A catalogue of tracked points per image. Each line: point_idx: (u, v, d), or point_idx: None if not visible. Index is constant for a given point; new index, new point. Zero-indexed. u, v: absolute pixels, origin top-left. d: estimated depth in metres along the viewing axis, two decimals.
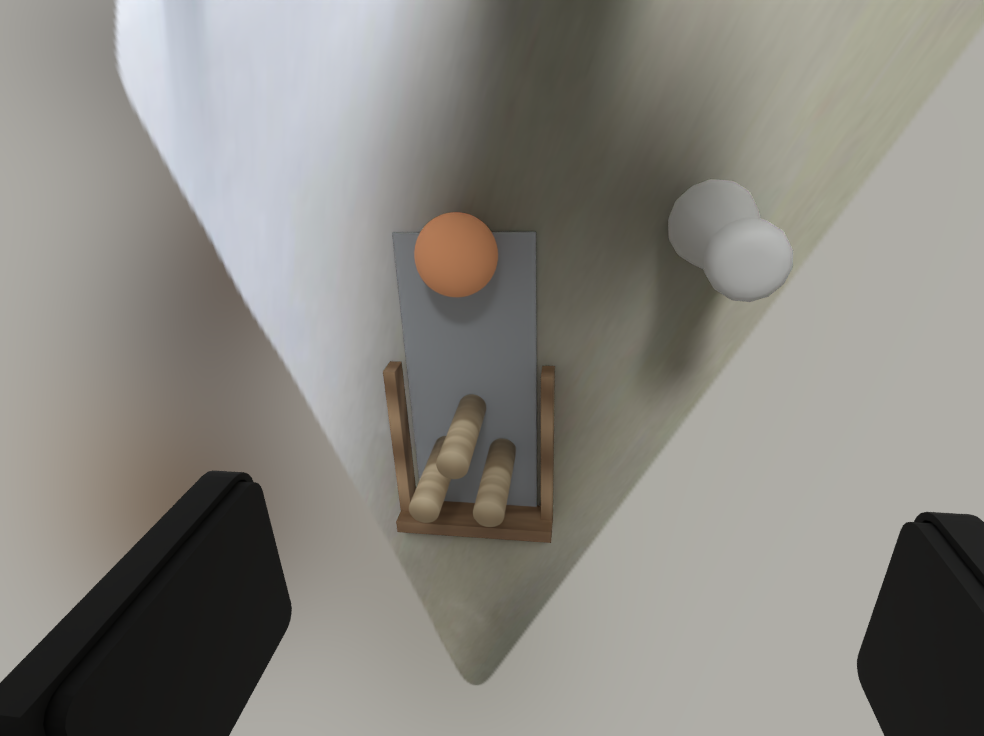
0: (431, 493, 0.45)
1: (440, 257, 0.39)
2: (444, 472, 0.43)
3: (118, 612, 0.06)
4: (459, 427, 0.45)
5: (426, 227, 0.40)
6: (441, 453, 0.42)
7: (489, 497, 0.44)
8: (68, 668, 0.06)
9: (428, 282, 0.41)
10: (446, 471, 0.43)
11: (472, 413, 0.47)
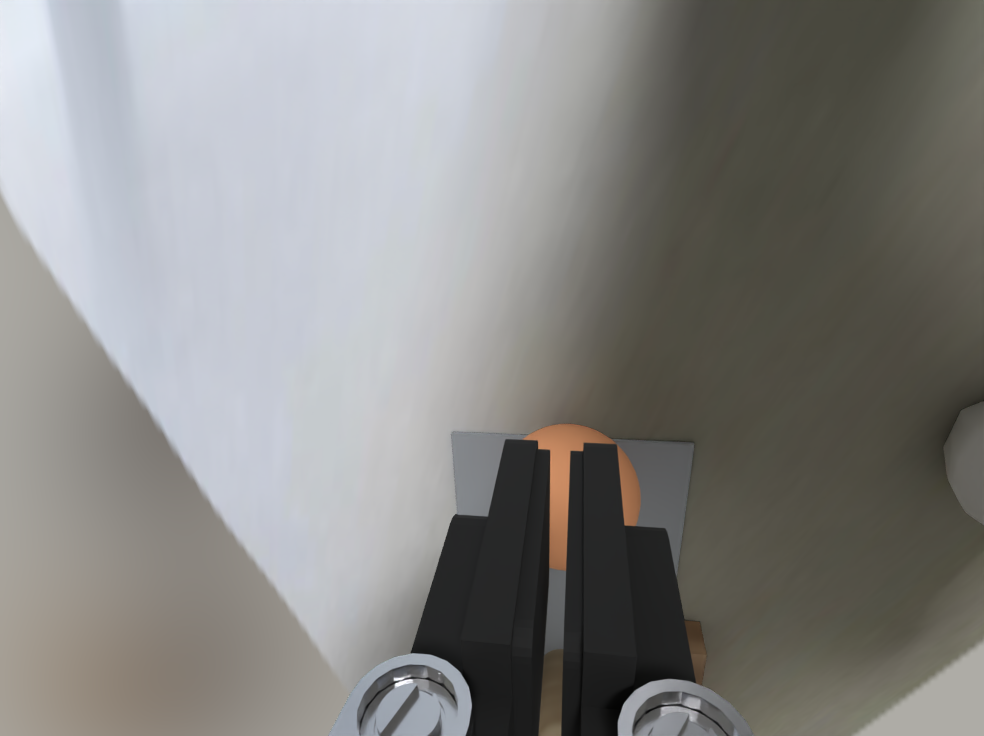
0: None
1: (552, 529, 0.22)
2: None
3: (515, 560, 0.07)
4: None
5: None
6: None
7: None
8: (514, 605, 0.06)
9: None
10: None
11: None
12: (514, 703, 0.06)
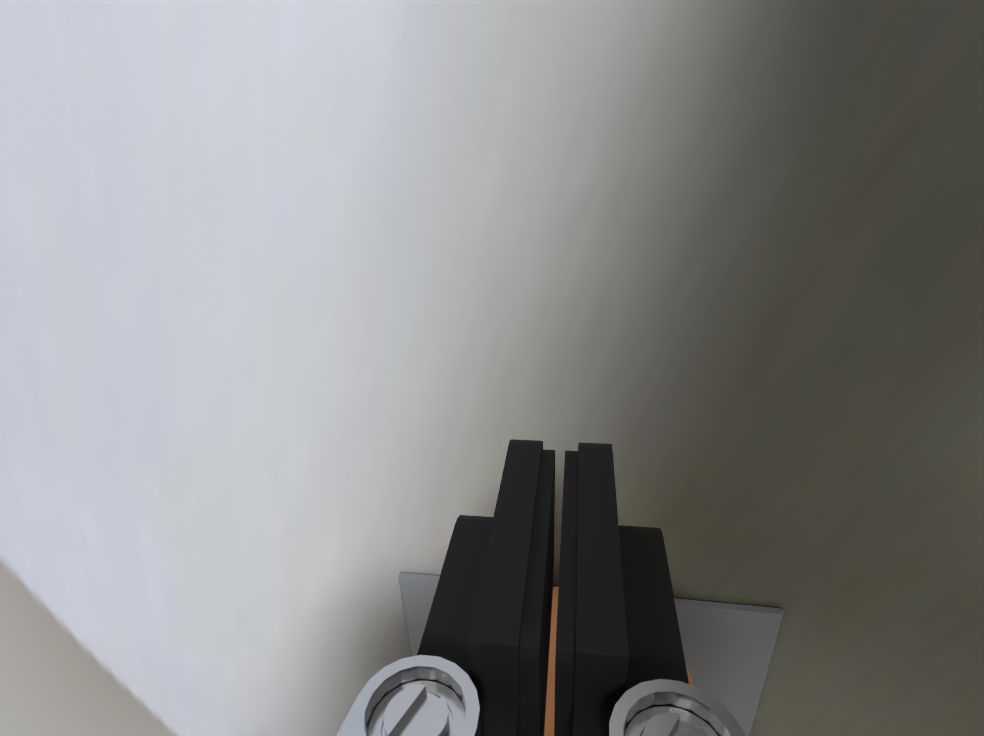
0: None
1: None
2: None
3: (521, 560, 0.07)
4: None
5: None
6: None
7: None
8: (521, 606, 0.06)
9: None
10: None
11: None
12: (521, 705, 0.06)
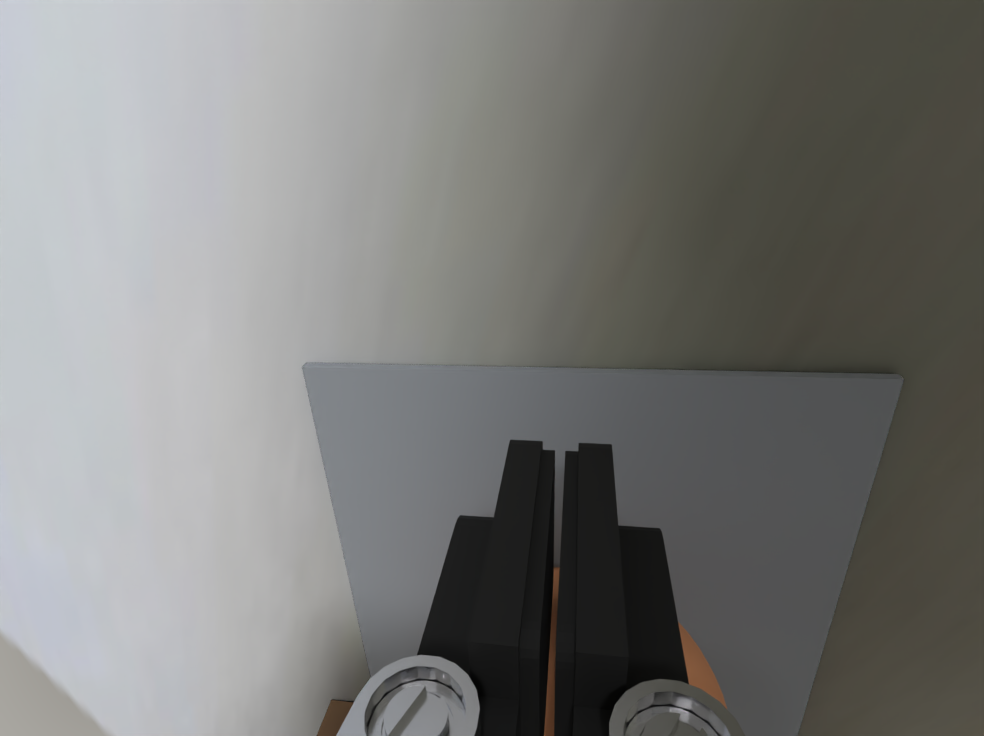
0: None
1: None
2: None
3: (522, 560, 0.07)
4: None
5: None
6: None
7: None
8: (521, 607, 0.06)
9: None
10: None
11: None
12: (521, 705, 0.06)
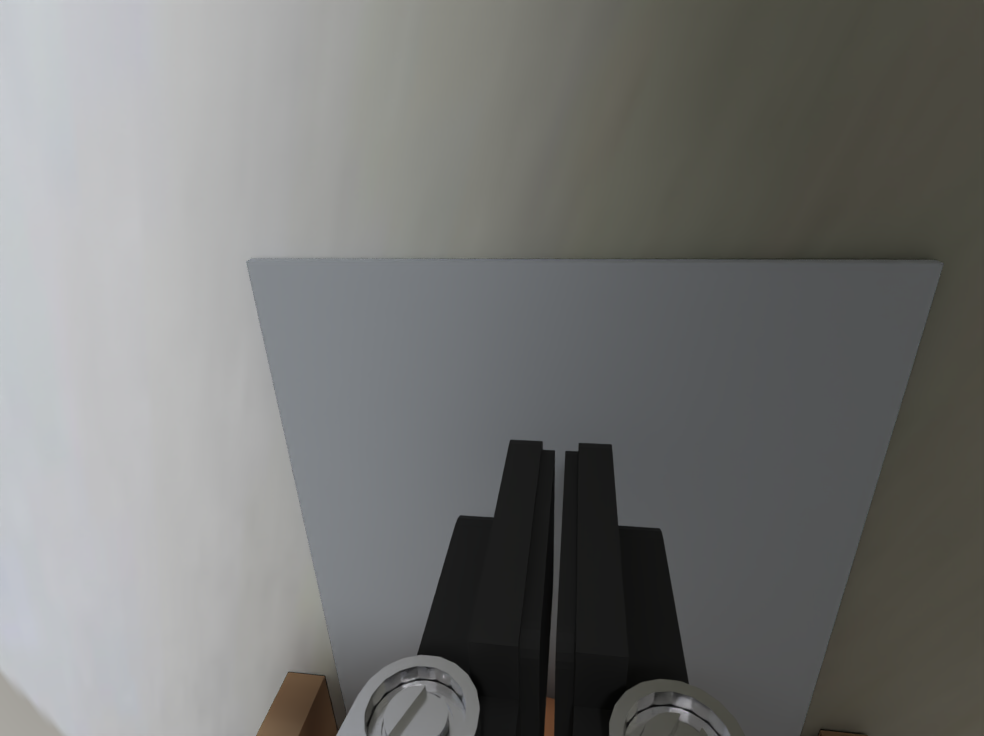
0: None
1: None
2: None
3: (521, 560, 0.07)
4: None
5: None
6: None
7: None
8: (521, 606, 0.06)
9: None
10: None
11: None
12: (521, 705, 0.06)
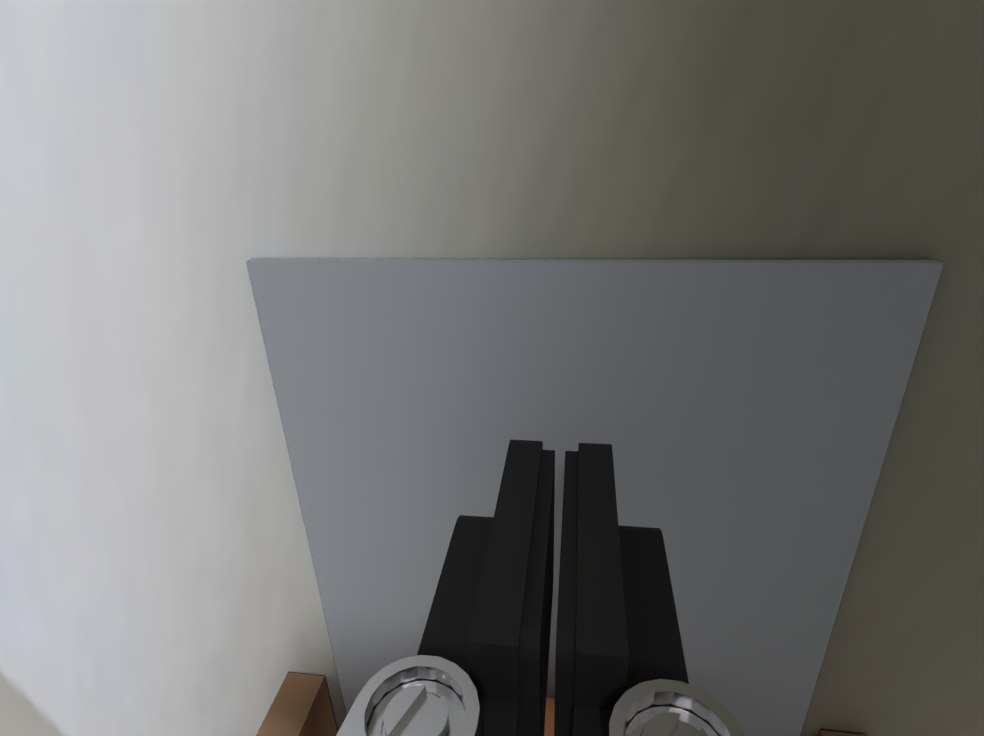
0: None
1: None
2: None
3: (521, 560, 0.07)
4: None
5: None
6: None
7: None
8: (521, 606, 0.06)
9: None
10: None
11: None
12: (521, 705, 0.06)
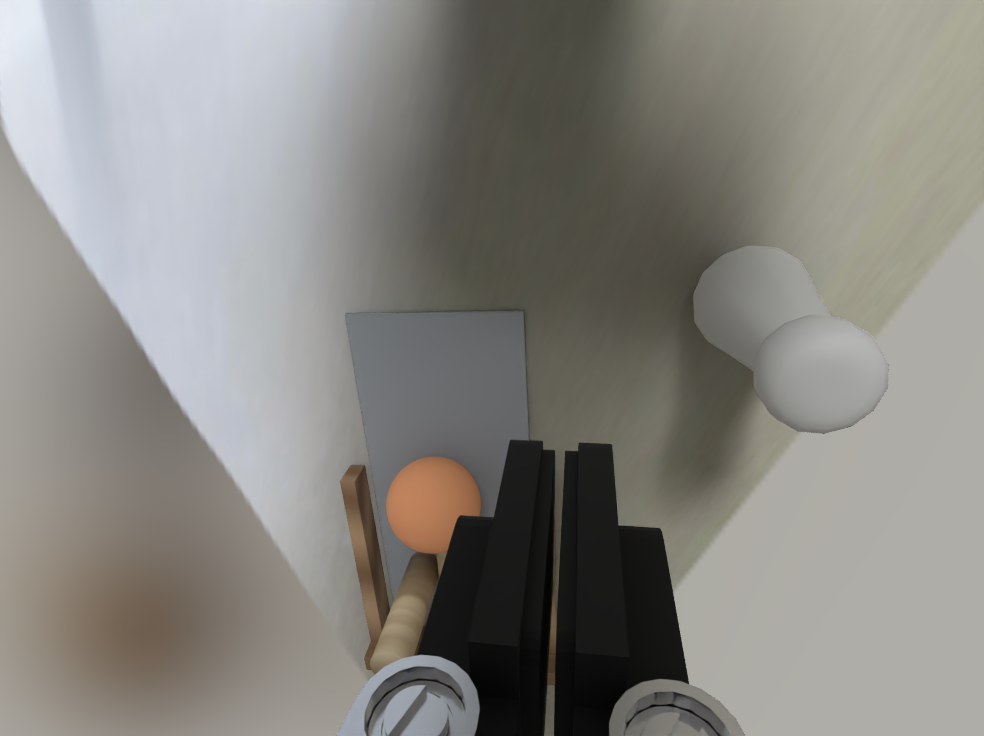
0: (398, 645, 0.35)
1: None
2: None
3: (521, 560, 0.07)
4: None
5: None
6: None
7: None
8: (521, 607, 0.06)
9: None
10: None
11: None
12: (521, 705, 0.06)
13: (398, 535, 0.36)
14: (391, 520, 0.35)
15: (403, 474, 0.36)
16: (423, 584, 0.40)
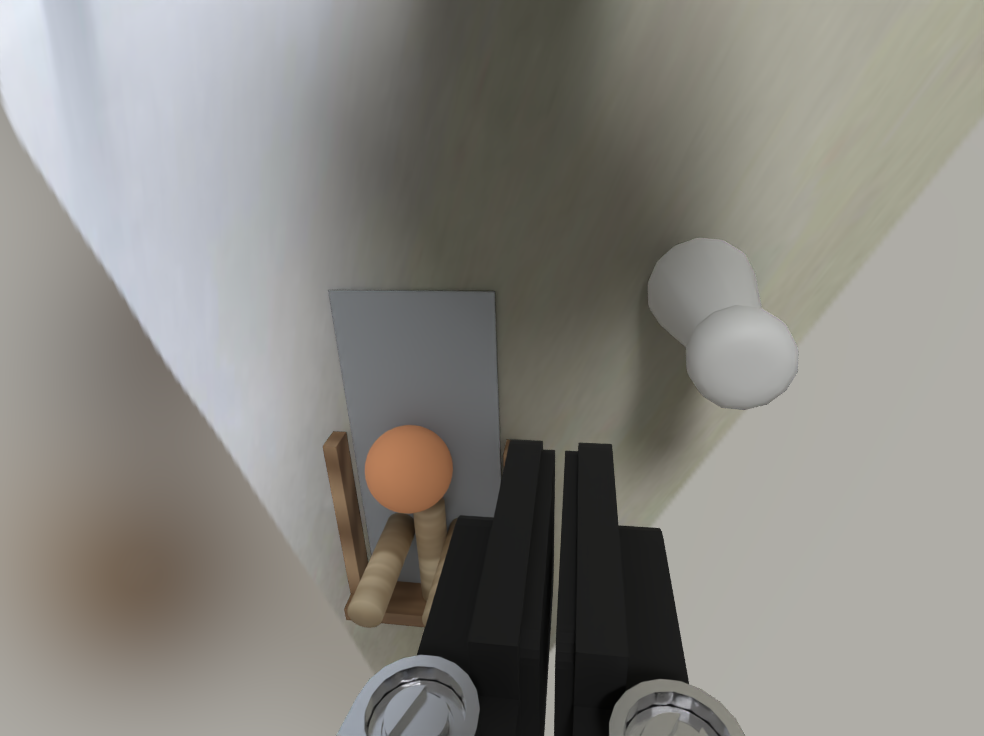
0: (373, 594, 0.38)
1: None
2: None
3: (522, 560, 0.07)
4: (431, 571, 0.45)
5: None
6: (426, 599, 0.47)
7: None
8: (521, 606, 0.06)
9: None
10: None
11: (437, 546, 0.44)
12: (521, 705, 0.06)
13: (375, 496, 0.39)
14: (369, 482, 0.39)
15: (380, 440, 0.39)
16: (399, 542, 0.43)
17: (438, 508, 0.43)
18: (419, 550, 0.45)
